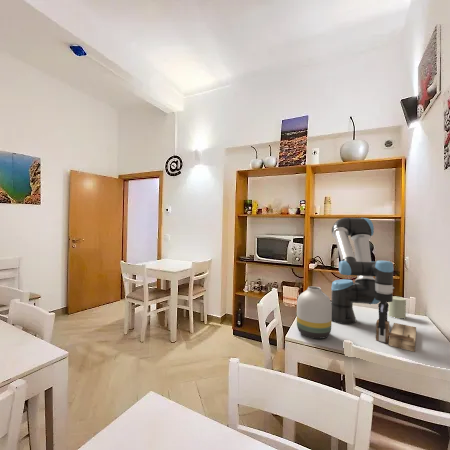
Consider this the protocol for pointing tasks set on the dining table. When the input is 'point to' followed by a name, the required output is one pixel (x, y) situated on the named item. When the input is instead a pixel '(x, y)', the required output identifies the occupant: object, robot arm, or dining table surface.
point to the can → (397, 307)
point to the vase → (314, 313)
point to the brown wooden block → (390, 333)
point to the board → (404, 331)
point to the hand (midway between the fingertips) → (382, 339)
